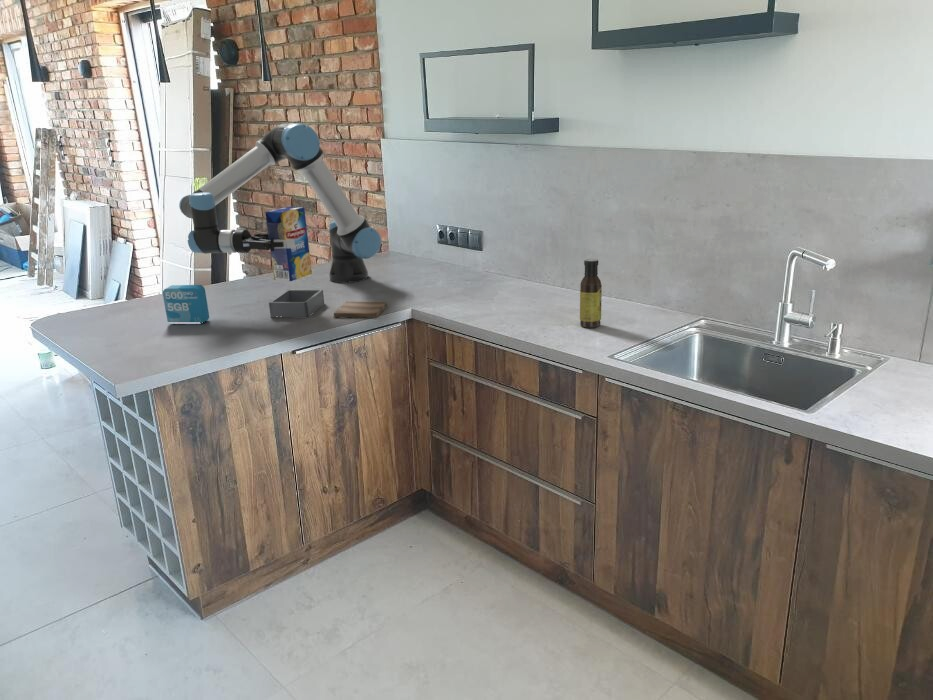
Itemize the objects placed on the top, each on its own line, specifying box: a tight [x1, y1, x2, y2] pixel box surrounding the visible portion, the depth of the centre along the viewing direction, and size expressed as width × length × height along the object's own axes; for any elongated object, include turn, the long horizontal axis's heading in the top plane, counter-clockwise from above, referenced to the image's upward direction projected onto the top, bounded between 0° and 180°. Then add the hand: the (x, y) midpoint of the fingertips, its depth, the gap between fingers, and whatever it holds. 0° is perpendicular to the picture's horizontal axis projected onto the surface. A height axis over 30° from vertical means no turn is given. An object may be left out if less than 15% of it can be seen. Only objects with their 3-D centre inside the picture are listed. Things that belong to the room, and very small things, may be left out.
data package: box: [162, 284, 210, 323], centre depth 226 cm, size 12×4×12 cm, turn 87°
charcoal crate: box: [268, 289, 325, 318], centre depth 237 cm, size 17×13×5 cm
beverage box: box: [264, 206, 313, 282], centre depth 230 cm, size 7×11×22 cm, turn 154°
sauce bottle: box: [579, 258, 603, 329], centre depth 209 cm, size 6×6×20 cm
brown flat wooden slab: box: [333, 301, 388, 319], centre depth 234 cm, size 14×14×2 cm
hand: (300, 240), depth 229 cm, fingers closed on beverage box, 11 cm apart
